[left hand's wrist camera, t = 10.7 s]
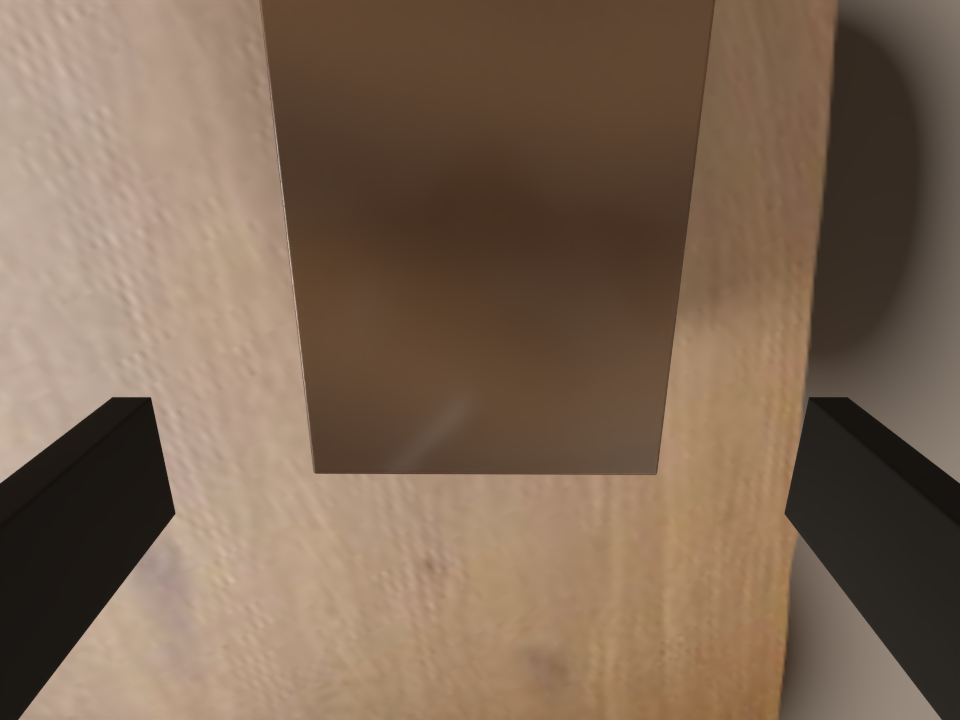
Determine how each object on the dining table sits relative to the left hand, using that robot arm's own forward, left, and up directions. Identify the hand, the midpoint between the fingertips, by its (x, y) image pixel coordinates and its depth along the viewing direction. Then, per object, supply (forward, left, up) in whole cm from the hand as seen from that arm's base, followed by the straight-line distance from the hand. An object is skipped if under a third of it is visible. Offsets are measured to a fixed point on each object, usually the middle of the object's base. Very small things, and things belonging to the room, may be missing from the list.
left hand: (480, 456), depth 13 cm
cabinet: (+4, 0, -17) cm, 18 cm away
